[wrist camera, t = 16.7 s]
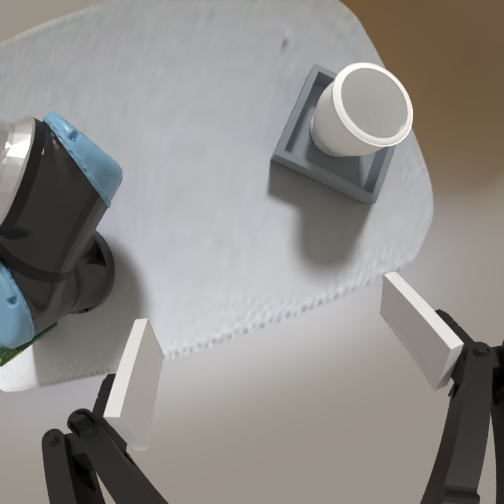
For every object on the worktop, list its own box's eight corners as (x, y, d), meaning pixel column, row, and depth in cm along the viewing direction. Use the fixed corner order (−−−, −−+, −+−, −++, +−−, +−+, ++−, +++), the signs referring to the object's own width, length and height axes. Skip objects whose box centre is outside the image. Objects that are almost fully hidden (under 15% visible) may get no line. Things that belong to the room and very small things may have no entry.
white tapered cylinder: (361, 170, 43) (412, 156, 29) (299, 157, 43) (329, 133, 28) (366, 109, 42) (412, 77, 27) (306, 94, 41) (335, 50, 26)
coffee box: (37, 340, 45) (0, 368, 32) (29, 328, 45) (-10, 354, 32) (58, 325, 45) (19, 353, 32) (50, 311, 44) (9, 337, 32)
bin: (270, 159, 43) (274, 153, 38) (307, 76, 41) (314, 63, 36) (361, 203, 45) (375, 203, 40) (390, 121, 43) (405, 113, 38)
